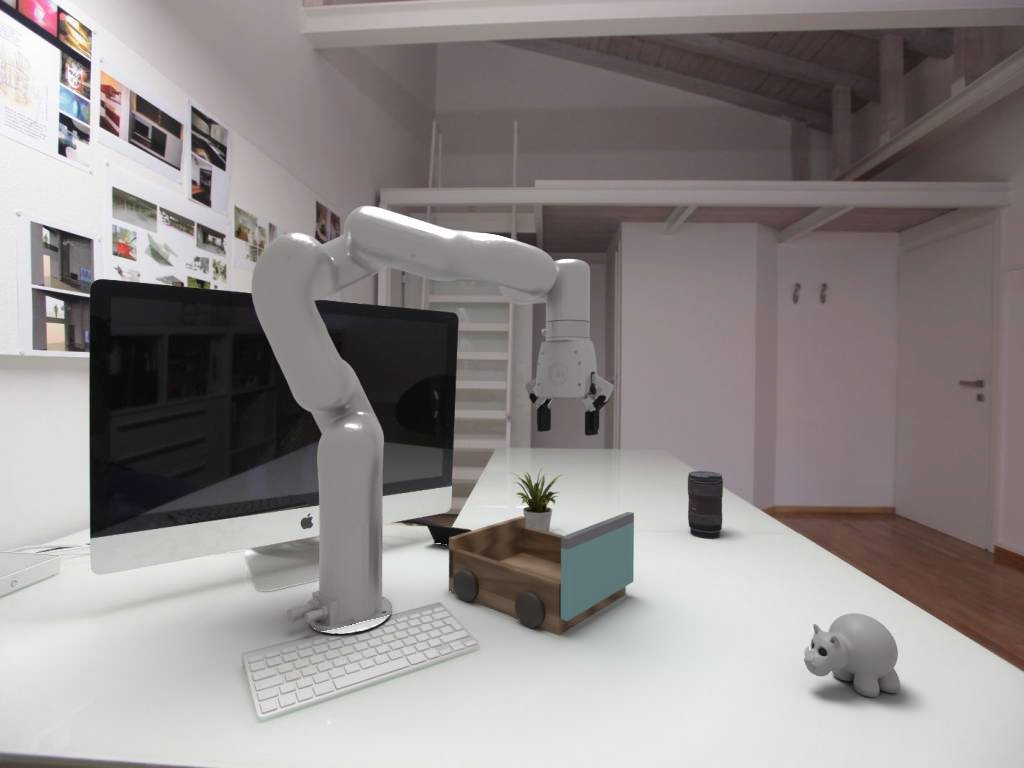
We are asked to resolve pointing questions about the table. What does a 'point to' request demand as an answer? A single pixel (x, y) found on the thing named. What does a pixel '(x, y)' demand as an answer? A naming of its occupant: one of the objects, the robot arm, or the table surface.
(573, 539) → the panel
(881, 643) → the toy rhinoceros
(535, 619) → the hand cart
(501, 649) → the table surface
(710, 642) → the table surface
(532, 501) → the house plant
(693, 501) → the camera lens
